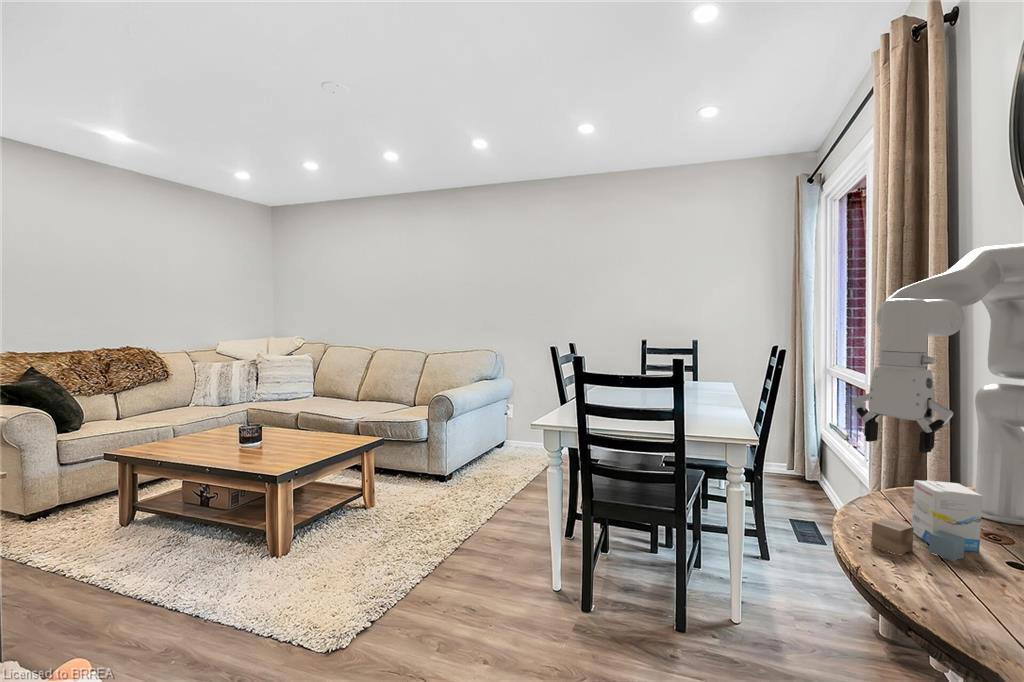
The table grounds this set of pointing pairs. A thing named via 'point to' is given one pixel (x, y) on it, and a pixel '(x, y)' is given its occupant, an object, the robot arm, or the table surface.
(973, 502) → the ink box
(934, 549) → the slate block
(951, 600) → the table surface
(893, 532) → the walnut block
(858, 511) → the table surface
